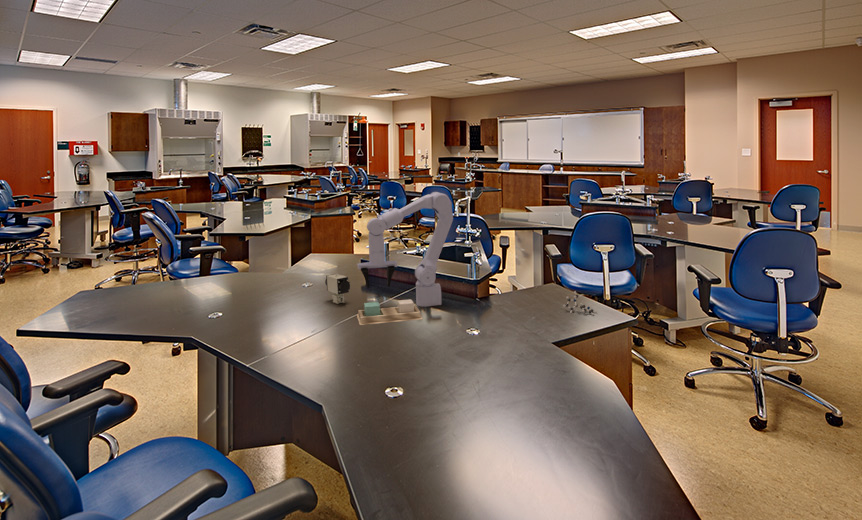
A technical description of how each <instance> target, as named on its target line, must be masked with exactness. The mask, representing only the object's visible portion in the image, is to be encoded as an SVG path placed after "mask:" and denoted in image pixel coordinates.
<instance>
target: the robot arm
mask: <svg viewBox="0 0 862 520" xmlns="http://www.w3.org/2000/svg"><path fill="white" fill-rule="evenodd" d="M452 204H453V202H452V200H450V198H449V196H448V194H446V193H443V192H439V191H432V192H431V193H430V194H429V193H428V194H426V195H425V194H424V195H423V196H421V197H419V198H417V199H416V200H413V202H412V201H411V202H410V203H409V204H407V205H405V206H403V207H402V208H400V209H399V208H398V207H397V208H396V207H394V208H392V207H391V208H388V211H386V212H384V213H382V214H381V215H380V214H377V215H376V217H373V218H370V219H369V220H368V222H367V225H366V229H367V231H368V257H369V261H367V262H360V263H357V270H360V271H361V273H362V275H363V278H364V281H365V284H366V288H367V289H370V281H369V279H370V278H369V269H380V268H386V284H387V287H390V286H391V280H392V278H393V276H394V272H395V269H396V268H398V261H397V260H386V256H385V255H386V252H385V250H386V249H385V237H384V233H385V230H389V229H390V228H393V227H395V226H397V225H399V224H400V223H402V222H403V220H404V218H405V217H406V216H409V215H411V214H414V213H415V212H418V211H420V210H423V209H431V210H433V211H434V212H435V215H436V216H437V218H438V220H437V224H436V225H435V228H434V231H433V234H432V237H431V239H430V241H429V245H428V247H427V250H426V252H425V255H424V257H423V259H422V260H421V261H420V263H419V265H418V266H416V268H415V269H414V277H415V278H416V279H417V281H416V282H415V297H416V298H415V299H416V300H415V302H416V303H415V304H416V306H418V307H423V308H424V307H426V308H427V307H432V306H441V305H442V287H441V284H440V283H436V282H435V281H436V278H437V276H436V273H437V270H438V267H437V266H438V264H437V263H438V261H439V257H440V254H441V253H442V250H443V248H444V245H445V242H446V240H447V237H448V234H449V232H450V229H451V228H452V227H451V226H452V223H453V221H454V213H453V208H452Z"/></svg>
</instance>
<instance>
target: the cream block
mask: <svg viewBox="0 0 862 520" xmlns="http://www.w3.org/2000/svg"><path fill="white" fill-rule="evenodd" d="M396 303H397V307H398V314H399V313H410V312H414V305H415V303H414V301H413V300H412V299H401V300H397V301H396Z"/></svg>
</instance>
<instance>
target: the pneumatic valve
mask: <svg viewBox="0 0 862 520" xmlns="http://www.w3.org/2000/svg"><path fill="white" fill-rule="evenodd" d="M325 276H326V277H325V281H324V283H325V285H326V291H327V292H331V293H332V296H331V297H332V303H333V304H337V305H339V304H342V303H343V304H344V303H345V295H344V294H348V293H349V291H350V290H351V283H350V281H349V277H348V276H346V275H343V274H342V275H341V274H339V273H333V274H328V275H325Z"/></svg>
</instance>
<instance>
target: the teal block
mask: <svg viewBox="0 0 862 520" xmlns="http://www.w3.org/2000/svg"><path fill="white" fill-rule="evenodd" d="M363 306H364V307H363V310H364V313H365V317H366V316H377V315H380V308H381V305H380V304H379V302H378V301H373V302H364V303H363Z"/></svg>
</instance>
